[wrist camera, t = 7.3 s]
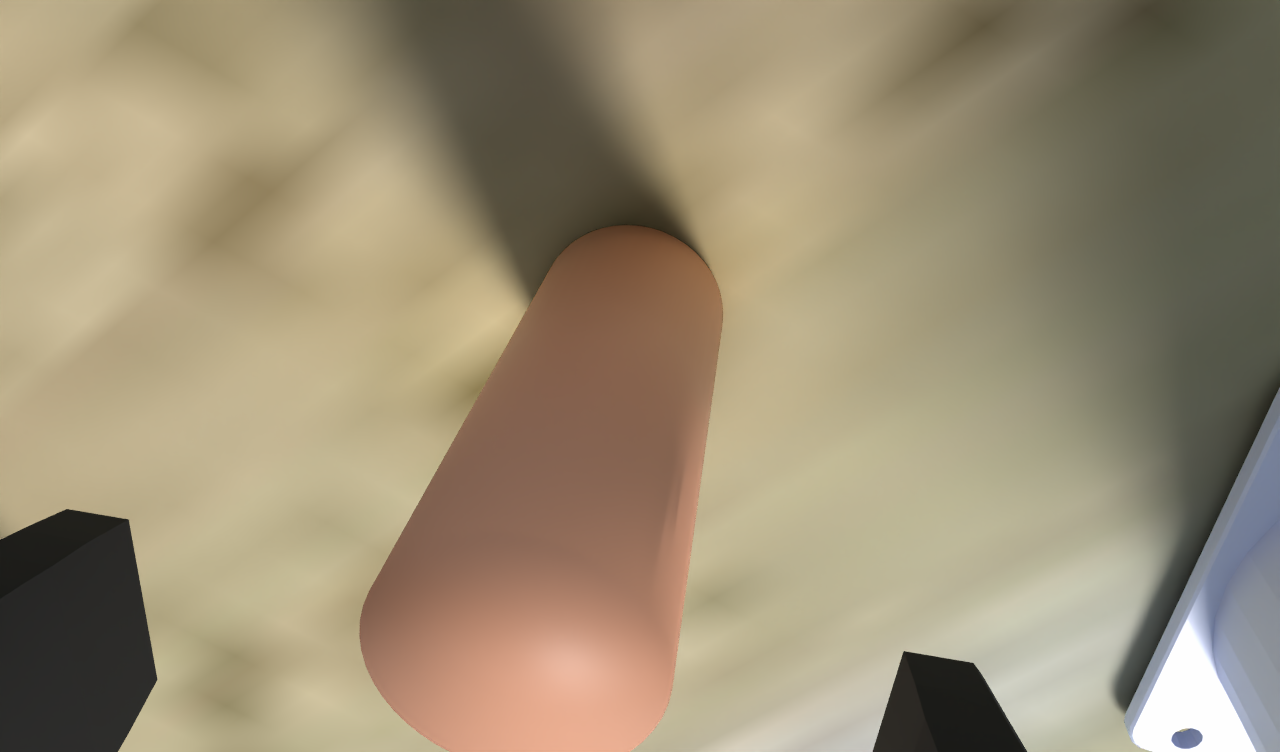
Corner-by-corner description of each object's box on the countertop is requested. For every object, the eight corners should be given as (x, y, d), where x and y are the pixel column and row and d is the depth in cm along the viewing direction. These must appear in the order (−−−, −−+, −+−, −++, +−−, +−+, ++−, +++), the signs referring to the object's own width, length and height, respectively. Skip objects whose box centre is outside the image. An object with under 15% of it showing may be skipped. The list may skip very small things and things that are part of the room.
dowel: (735, 238, 16) (691, 561, 9) (710, 404, 17) (655, 796, 10) (546, 213, 16) (352, 508, 9) (537, 378, 17) (365, 746, 10)
